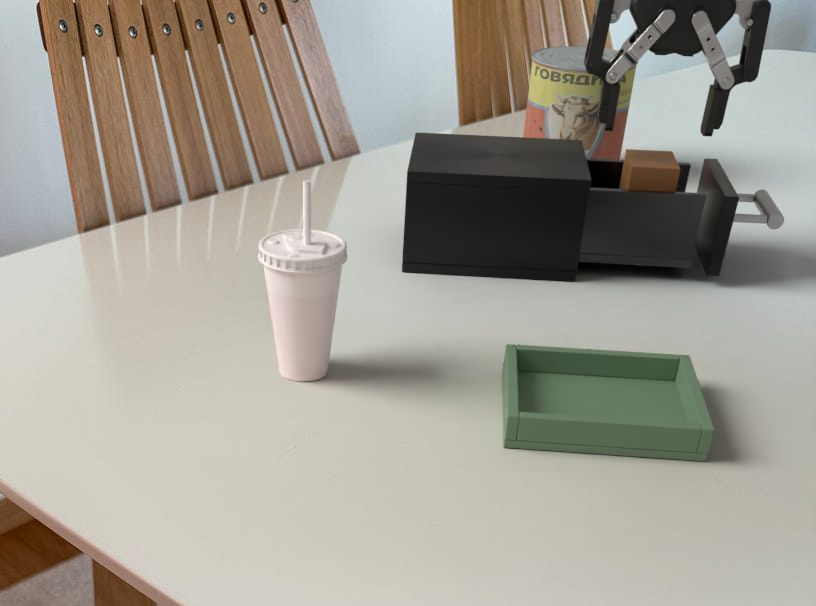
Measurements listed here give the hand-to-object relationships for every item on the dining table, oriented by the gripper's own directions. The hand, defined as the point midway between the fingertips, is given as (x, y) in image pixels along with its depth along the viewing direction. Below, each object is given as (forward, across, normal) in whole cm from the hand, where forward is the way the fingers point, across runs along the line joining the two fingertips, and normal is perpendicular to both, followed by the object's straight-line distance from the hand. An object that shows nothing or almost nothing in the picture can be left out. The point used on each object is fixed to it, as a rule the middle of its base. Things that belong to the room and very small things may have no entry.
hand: (656, 131), depth 92 cm
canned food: (+12, -4, +27) cm, 30 cm away
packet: (+9, 0, 0) cm, 9 cm away
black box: (+12, -14, 0) cm, 18 cm away
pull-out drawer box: (+10, +2, 0) cm, 11 cm away
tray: (+12, -6, -32) cm, 34 cm away
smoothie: (+12, -28, -28) cm, 41 cm away
